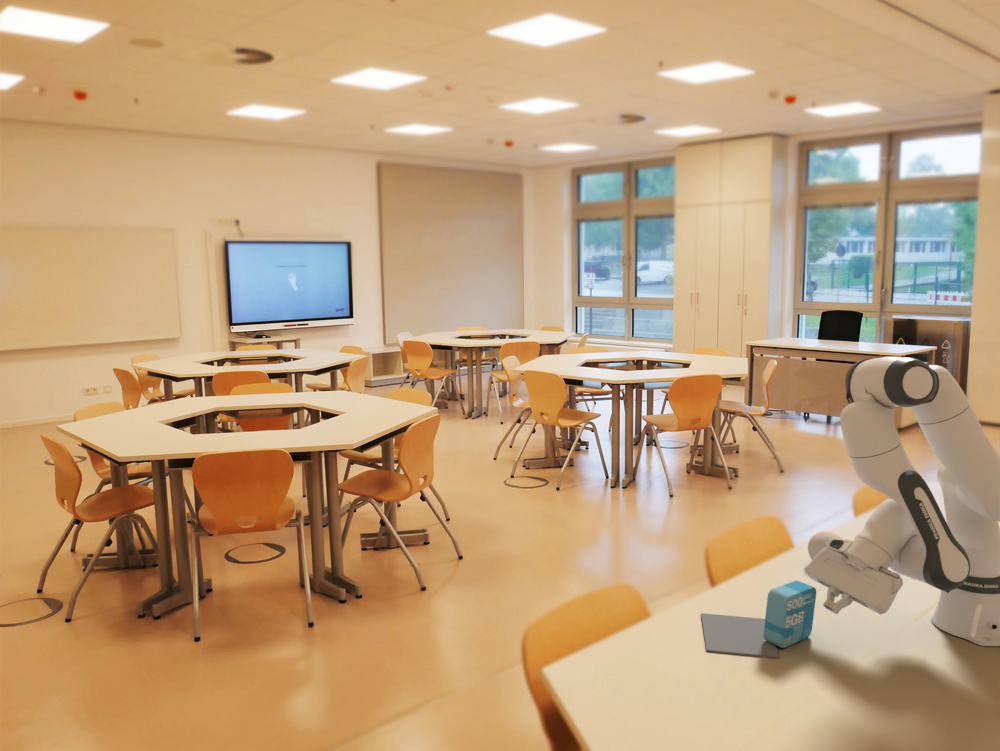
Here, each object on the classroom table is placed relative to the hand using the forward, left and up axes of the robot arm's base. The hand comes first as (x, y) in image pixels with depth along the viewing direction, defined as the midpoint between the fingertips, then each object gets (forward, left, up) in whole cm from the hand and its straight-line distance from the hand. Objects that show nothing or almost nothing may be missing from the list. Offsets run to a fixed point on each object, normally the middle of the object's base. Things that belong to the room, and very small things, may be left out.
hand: (829, 610), depth 167 cm
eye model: (-10, -49, -9) cm, 50 cm away
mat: (+19, -2, -9) cm, 20 cm away
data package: (+8, -2, -8) cm, 12 cm away
